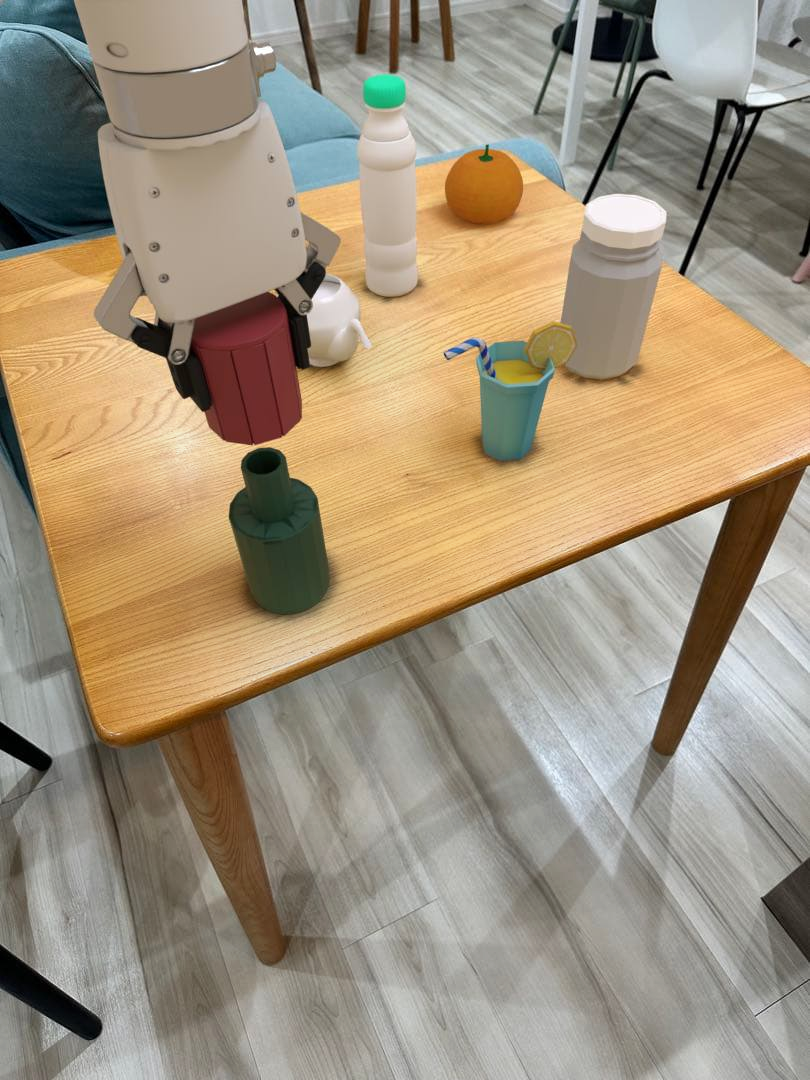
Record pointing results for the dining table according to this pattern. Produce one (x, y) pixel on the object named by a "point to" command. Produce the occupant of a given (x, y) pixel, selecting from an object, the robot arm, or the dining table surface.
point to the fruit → (484, 186)
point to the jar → (613, 283)
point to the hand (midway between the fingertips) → (247, 377)
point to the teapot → (334, 323)
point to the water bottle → (388, 189)
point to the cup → (516, 385)
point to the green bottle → (279, 535)
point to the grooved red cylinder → (249, 370)
